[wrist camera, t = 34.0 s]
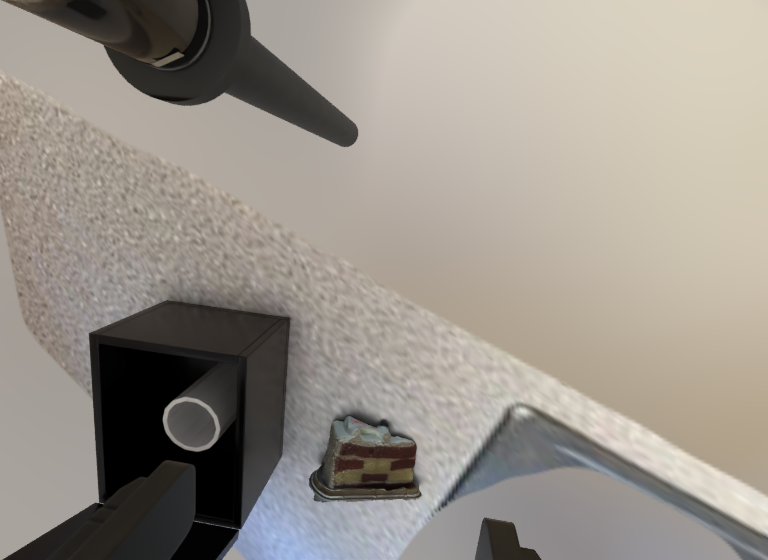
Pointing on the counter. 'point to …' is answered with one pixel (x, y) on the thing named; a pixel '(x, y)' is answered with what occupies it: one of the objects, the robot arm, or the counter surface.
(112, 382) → the black hollow box
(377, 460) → the checkered cake slice
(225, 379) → the cup
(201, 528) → the black box lid
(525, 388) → the counter surface
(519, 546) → the robot arm
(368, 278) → the counter surface
